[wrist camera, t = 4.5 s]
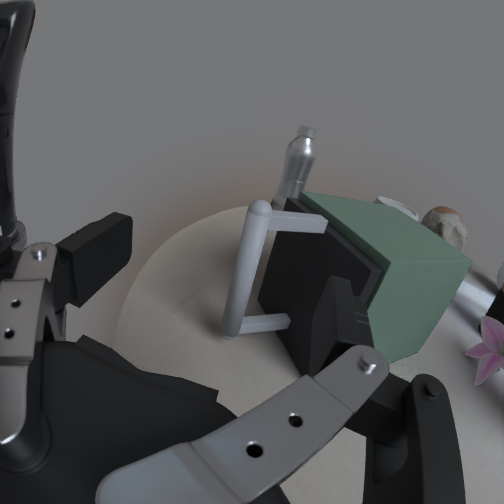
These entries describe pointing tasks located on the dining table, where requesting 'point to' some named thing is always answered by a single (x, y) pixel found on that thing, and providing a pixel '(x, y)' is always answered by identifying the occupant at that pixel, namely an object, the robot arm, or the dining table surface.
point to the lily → (489, 349)
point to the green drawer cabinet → (397, 269)
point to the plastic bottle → (296, 167)
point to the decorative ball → (500, 276)
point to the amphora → (447, 226)
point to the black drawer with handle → (291, 274)
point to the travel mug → (497, 308)
